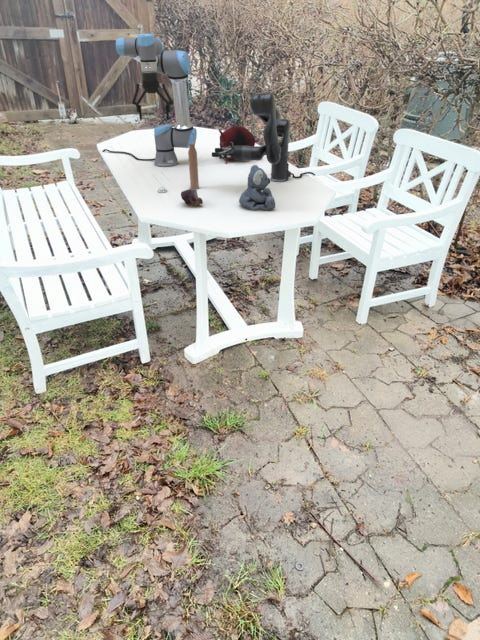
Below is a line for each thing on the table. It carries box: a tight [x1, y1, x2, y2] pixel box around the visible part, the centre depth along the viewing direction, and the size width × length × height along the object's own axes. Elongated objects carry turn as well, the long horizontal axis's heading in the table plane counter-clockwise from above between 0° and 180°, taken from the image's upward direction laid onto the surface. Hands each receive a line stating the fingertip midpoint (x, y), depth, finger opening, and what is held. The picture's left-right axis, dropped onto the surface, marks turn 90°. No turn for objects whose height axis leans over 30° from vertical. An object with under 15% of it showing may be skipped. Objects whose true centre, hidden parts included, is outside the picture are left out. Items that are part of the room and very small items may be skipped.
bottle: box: [187, 143, 200, 190], centre depth 247 cm, size 5×5×24 cm
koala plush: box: [238, 164, 276, 211], centre depth 224 cm, size 17×18×20 cm
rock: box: [180, 188, 204, 207], centre depth 229 cm, size 12×9×10 cm
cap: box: [157, 186, 167, 194], centre depth 249 cm, size 4×4×2 cm
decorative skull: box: [218, 125, 256, 164], centre depth 298 cm, size 21×24×25 cm
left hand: (154, 119), depth 228 cm, fingers open, 13 cm apart
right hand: (213, 152), depth 241 cm, fingers open, 8 cm apart
